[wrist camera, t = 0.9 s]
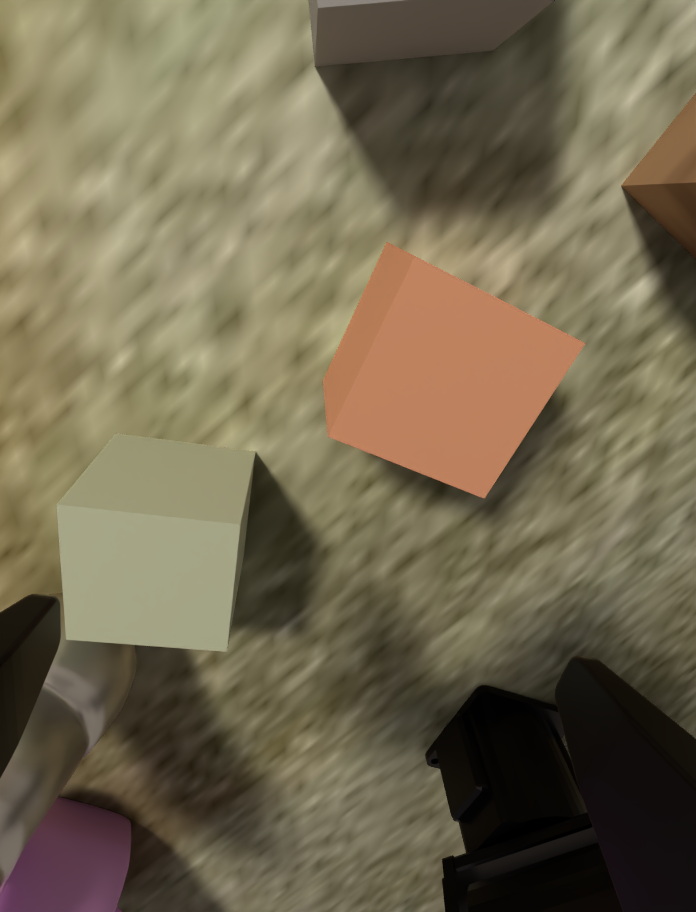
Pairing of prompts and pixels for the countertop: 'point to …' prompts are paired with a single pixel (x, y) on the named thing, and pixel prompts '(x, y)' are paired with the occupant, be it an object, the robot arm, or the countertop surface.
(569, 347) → the terracotta block
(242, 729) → the countertop surface
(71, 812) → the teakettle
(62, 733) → the plastic bottle
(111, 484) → the sage block
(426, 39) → the slate block
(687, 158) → the walnut block
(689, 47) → the countertop surface
